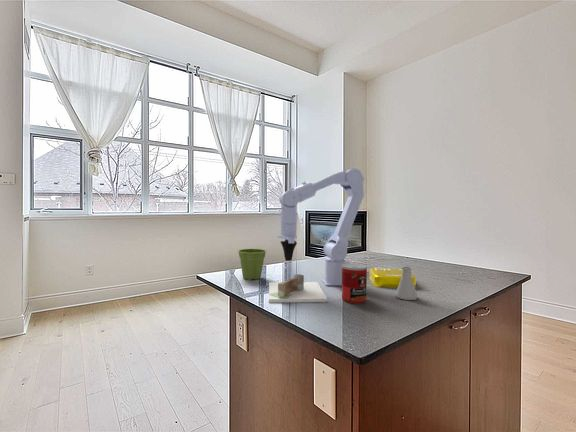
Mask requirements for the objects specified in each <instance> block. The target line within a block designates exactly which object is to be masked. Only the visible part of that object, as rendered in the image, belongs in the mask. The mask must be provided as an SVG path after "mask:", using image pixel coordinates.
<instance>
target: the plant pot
mask: <svg viewBox="0 0 576 432" xmlns="http://www.w3.org/2000/svg"><path fill="white" fill-rule="evenodd" d="M267 252H268V251H267V250H266V249H262V248H242V249H241V248H240V249H238V250H237V253H238V255H239V256H238V257H239V260H240V265H241V267H240V268H241V273H242V278H243V279H244V280H249V281H252V280H260V279H261V277H262V272H263V268H264V267H263V265H264V260H265V256H266V253H267Z"/></svg>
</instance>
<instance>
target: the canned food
mask: <svg viewBox="0 0 576 432" xmlns="http://www.w3.org/2000/svg"><path fill="white" fill-rule="evenodd" d="M367 269H368V268H367V265H365V264H363V263H354V262H353V263H352V262H350V263H347V264H343V265H342V285H341V300H343V301H344V302H346V303H349V304H355V303H356V304H363V303H365V302H366V301H367V300H366V299H367V284H368V283H367V281H368V280H367V279H368V276H367V275H368V271H367Z"/></svg>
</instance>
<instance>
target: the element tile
mask: <svg viewBox="0 0 576 432" xmlns="http://www.w3.org/2000/svg"><path fill="white" fill-rule="evenodd" d="M401 277H402V268H383V267H371V268H370V269H369V279H370V281H371V283H372V285H373V286H374V287H377V288H396V289H397V288H398V286H399V283H400V281H401ZM411 277H412V281H413V284H414V287H415V288H416V285H417V284H416V282H417V277H416V276H415V275H413V274H412V273H411Z"/></svg>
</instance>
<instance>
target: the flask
mask: <svg viewBox="0 0 576 432" xmlns="http://www.w3.org/2000/svg"><path fill="white" fill-rule="evenodd" d="M401 269H402V277H401V281H400V283H399V286H398V288H396V291H395V294H394V296H395V298H397V299H401V300H406V301H417V299H418V298H419V297H418V296H419V295H418V293H417V291H416V287H414V284H413V281H412V277H411V274H412V270H413V267H411V266H403V265H402V266H401Z"/></svg>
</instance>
